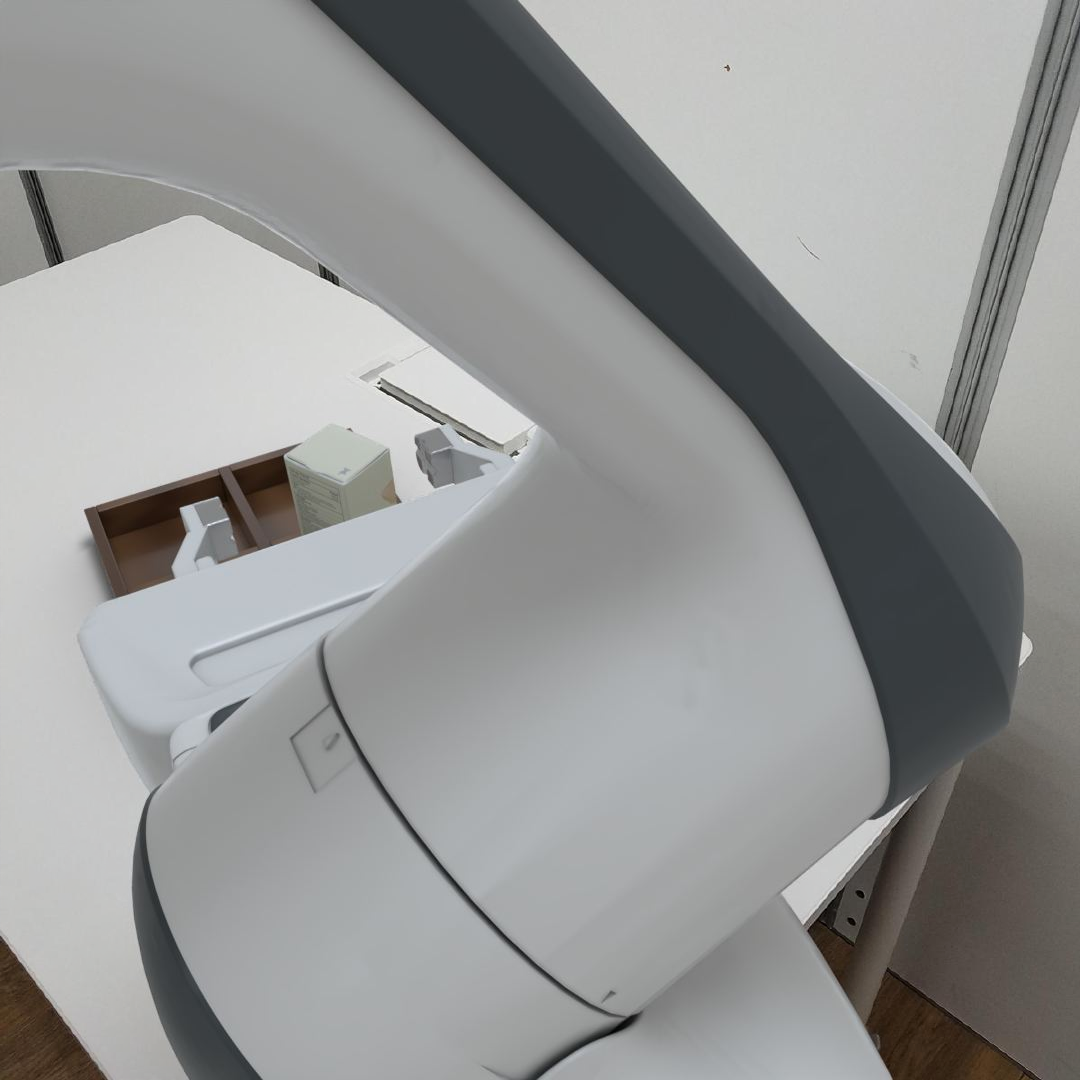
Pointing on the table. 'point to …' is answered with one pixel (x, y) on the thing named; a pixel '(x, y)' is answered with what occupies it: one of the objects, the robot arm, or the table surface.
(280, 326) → the table surface
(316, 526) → the box
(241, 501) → the grid
